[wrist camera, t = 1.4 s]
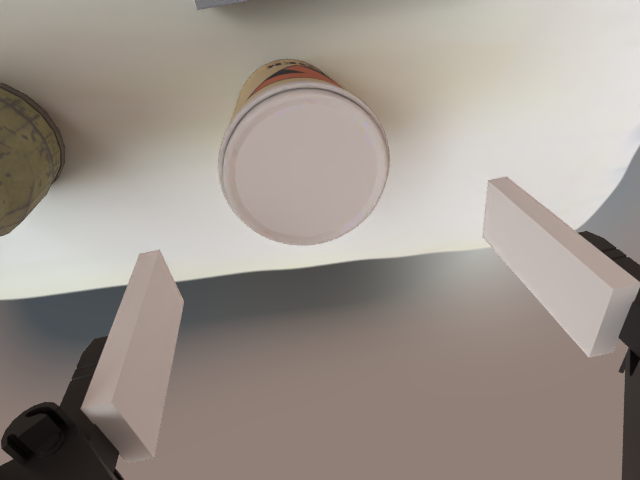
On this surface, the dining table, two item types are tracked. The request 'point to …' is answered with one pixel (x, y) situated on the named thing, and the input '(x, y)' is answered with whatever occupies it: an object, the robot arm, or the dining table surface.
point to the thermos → (25, 156)
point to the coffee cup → (301, 156)
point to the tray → (214, 3)
